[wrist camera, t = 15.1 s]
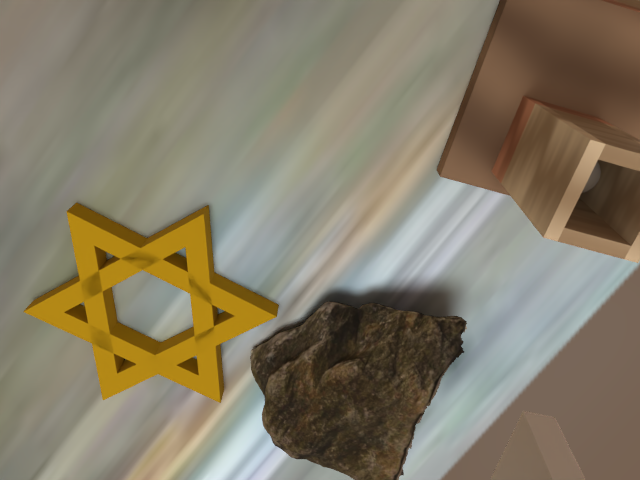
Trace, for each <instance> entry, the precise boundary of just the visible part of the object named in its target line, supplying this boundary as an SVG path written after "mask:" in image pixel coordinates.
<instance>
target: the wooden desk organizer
mask: <svg viewBox="0 0 640 480" xmlns="http://www.w3.org/2000/svg"><path fill="white" fill-rule="evenodd" d="M437 171H438V173H439V175H440V177H444V178H448V179H451V180H455V181H459V182H462V183H466V184H470V185H473V186H477V187H481V188H484V189H488V190H492V191H495V192H499V193H502V194H506V195H510V196H511V197H512V198H513V199H514V201H515V202H516V203H517V205H518V206H519V207H520V208H521V210H522V211H523V212H524V213H525V215H526V216H527V217H528V219H529V220H530V221H531V222H532V224H533V225H534V226H535V227H536V229H537V230H538V231H539V233H540V234H541V235H542V236H543V238H547V239H551V240H555V241H558V242H562V243H566V244H570V245H573V246H577V247H581V248H584V249H588V250H592V251H596V252H599V253H603V254H607V255H611V256H614V257H618V258H622V259H625V260H629V261H633V262H637V263H638V262H639V260H640V12H637V11H634V10H631V9H627V8H624V7H621V6H618V5H615V4H611V3H608V2H605V1H602V0H500V2H499V5H498V8H497V10H496V13H495V16H494V18H493V21H492V24H491V26H490V29H489V32H488V34H487V37H486V40H485V42H484V45H483V48H482V50H481V53H480V56H479V58H478V61H477V64H476V66H475V69H474V72H473V74H472V77H471V80H470V82H469V85H468V88H467V90H466V93H465V96H464V98H463V101H462V104H461V106H460V109H459V112H458V114H457V117H456V120H455V122H454V125H453V128H452V130H451V133H450V136H449V138H448V141H447V144H446V146H445V149H444V152H443V154H442V157H441V160H440V162H439V165H438V168H437Z"/></svg>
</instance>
